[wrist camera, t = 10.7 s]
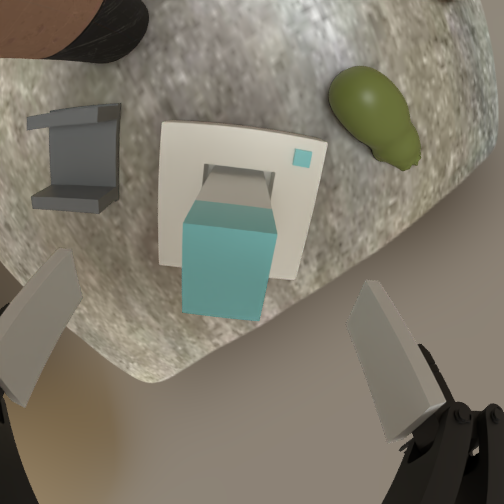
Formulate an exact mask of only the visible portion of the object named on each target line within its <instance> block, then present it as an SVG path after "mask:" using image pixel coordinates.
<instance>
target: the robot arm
mask: <svg viewBox="0 0 504 504" xmlns="http://www.w3.org/2000/svg"><path fill="white" fill-rule="evenodd" d="M82 298H83V296H82V292H81V288H80V285H79V280H78V276H77V272H76V268H75V263H74V258H73V254H72V249H66V248H58V249H57V250H56V251H55V252H54V253H53V254H52V255H51V256H50V258H49V259H48V260H47V261H46V262H45V263H44V264H43V265H42V266H41V267H40V268H39V270H38V271H37V272H36V273H35V274H34V275H33V276H32V278H31V279H30V280H29V281H28V282H27V283H26V285H25V286H24V287H23V288H22V289H21V291H20V292H19V293H18V294H17V296H16V297H15V298H14V299H13V301H12V302H11V303H8V304H6V305H5V306H4V307H2V308H1V309H0V504H39V503H38V501H37V499H36V496H35V494H34V492H33V490H32V487H31V485H30V483H29V480H28V478H27V475H26V473H25V470H24V467H23V465H22V462H21V459H20V456H19V453H18V450H17V447H16V443H15V440H14V436H13V433H12V429H11V426H10V421H9V417H8V412H7V408H6V403H5V400H4V398H3V394H4V392H5V394H6V395H7V396H8V397H9V398H10V399H11V401H13V402H15V403H17V404H19V405H21V406H23V407H26V405H27V402H28V400H29V397H30V395H31V393H32V391H33V389H34V387H35V384H36V382H37V380H38V378H39V376H40V374H41V372H42V369H43V368H44V366H45V364H46V362H47V360H48V357H49V356H50V354H51V352H52V350H53V348H54V346H55V344H56V343H57V341H58V339H59V337H60V335H61V334H62V332H63V330H64V328H65V327H66V325H67V323H68V321H69V320H70V318H71V316H72V315H73V313H74V311H75V310H76V308H77V306H78V305H79V303H80V302H81V300H82ZM346 327H347V329H348V332H349V335H350V337H351V340H352V342H353V345H354V347H355V350H356V353H357V356H358V358H359V361H360V364H361V366H362V369H363V372H364V374H365V378H366V380H367V383H368V386H369V389H370V392H371V395H372V398H373V400H374V403H375V407H376V409H377V413H378V416H379V419H380V422H381V425H382V428H383V431H384V435H385V438H386V441H387V443H391V442H395V441H399V440H402V439H404V438H405V437H406V436H408V435H409V434H410V433H412V434H413V438H412V439H411V440H410V441H408V442H407V443H406V444H404V445H403V446H402V447H401V448H400V449H399V451H402V450H404V449H405V448H407V450H406V451H405V452H404V453H405V455H404V457H403V460H402V462H401V465H400V467H399V469H398V472H397V474H396V476H395V478H394V480H393V482H392V485H391V487H390V489H389V491H388V493H387V494H386V496H385V498H384V500H383V502H382V504H504V412H503V410H502V408H501V407H499V406H498V405H497V404H490V405H488V406H487V407H486V408H485V409H484V410H483V411H471V410H470V408H469V407H468V406H467V405H466V404H464V403H462V402H455V401H454V399H453V397H452V394H451V392H450V390H449V388H448V387H447V385H446V382H445V380H444V378H443V376H442V375H441V373H440V372H439V369H438V367H437V365H436V364H435V361H434V360H433V358H432V356H431V354H430V352H429V351H428V350H427V349H426V348H425V347H424V346H423V345H422V344H417V343H416V341H415V339H414V338H413V336H412V334H411V332H410V330H409V329H408V327H407V325H406V324H405V322H404V320H403V319H402V317H401V315H400V314H399V312H398V310H397V309H396V307H395V305H394V304H393V302H392V300H391V299H390V297H389V296H388V294H387V293H386V291H385V289H384V288H383V286H382V285H381V283H380V282H379V281H374V280H365V282H364V284H363V287H362V289H361V291H360V294H359V296H358V298H357V301H356V303H355V305H354V307H353V310H352V312H351V314H350V316H349V318H348V321H347V322H346ZM478 446H479V453H478V454H476V455H475V456H473V453H472V451H473V450H474V449H476V448H477V447H478Z"/></svg>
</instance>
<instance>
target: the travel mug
mask: <svg viewBox="0 0 504 504" xmlns="http://www.w3.org/2000/svg"><path fill="white" fill-rule="evenodd" d="M148 19H149V16H148V11H147V8H146V6H145V5H144V3H143V2H142V1H141V0H0V58H24V59H50V60H68V61H80V62H90V63H109V62H112V61H115V60H118V59H120V58H122V57H123V56H125V55H126V54H128V53H129V52H130V51H131V50H132V49H134V48H135V47H136V45H137V44H138V43H139V42H140V40H141V39H142V37H143V36H144V34H145V31H146V29H147V26H148Z"/></svg>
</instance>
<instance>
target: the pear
mask: <svg viewBox="0 0 504 504" xmlns="http://www.w3.org/2000/svg"><path fill="white" fill-rule="evenodd" d="M329 102H330V106H331V108H332V110H333V112H334V114H335V115H336V117H337V118H338V120H339V121H340V122H341V123H342V124H343V126H344V127H345V128H346V129H347V130H348V131H349V132H350V133H351V134H352V135H353V136H354V137H355V138H357V139H358V140H359V141H361V142H363V143H364V144H366V145H368V146H370V148H371V149H372V153H373V156H374V157H375V158H376V159H377V160H378V161H381V162H387V163H389V164H391V165H393V166H395V167H397V168H398V169H400V170H401V171H405V170H408V169H410V167H411V166H412V165H416V166H418V161H419V160H420V159H421V156H420V155H421V152H420V149H421V144H420V140H419V136H418V133H417V131H416V129H415V127H414V126H413V124H412V123H411V121H410V114H409V109H408V106H407V103H406V101H405V99H404V97H403V95H402V94H401V92H400V91H399V89H398V88H397V87H396V86H395V85H394V84H393V83H392V82H391V81H390V80H389V79H388V78H387V77H386V76H385V75H383V74H382V73H381V72H379V71H377V70H375V69H373V68H370V67H366V66H355V67H351V68H348V69H346V70H344V71H342V72H341V73H340V74H338V75H337V76H336V78H335V79H334V80H333V82H332V84H331V86H330V89H329ZM415 163H416V164H415Z"/></svg>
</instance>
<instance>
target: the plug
mask: <svg viewBox="0 0 504 504" xmlns="http://www.w3.org/2000/svg"><path fill="white" fill-rule="evenodd" d="M277 235H278V234H277V229H276V225H275V220H274V216H273V211H272V207H271V202H270V198H269V193H268V189H267V185H266V180H265V176H264V172H263V171H260V170H253V169H245V168H237V167H229V166H219V165H215V166H214V167H213V169H212V171H211V173H210V174H209V176H208V178H207V180H206V181H205V183H204V185H203V187H202V188H201V190H200V192H199V194H198V196H197V198H196V199H195V201H194V203H193V205H192V207H191V209H190V211H189V212H188V214H187V216H186V218H185V220H184V222H183V233H182V313H189V314H197V315H205V316H213V317H222V318H231V319H241V320H251V321H259V320H260V316H261V311H262V307H263V302H264V297H265V293H266V288H267V283H268V278H269V274H270V269H271V264H272V259H273V254H274V249H275V245H276V240H277Z"/></svg>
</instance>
